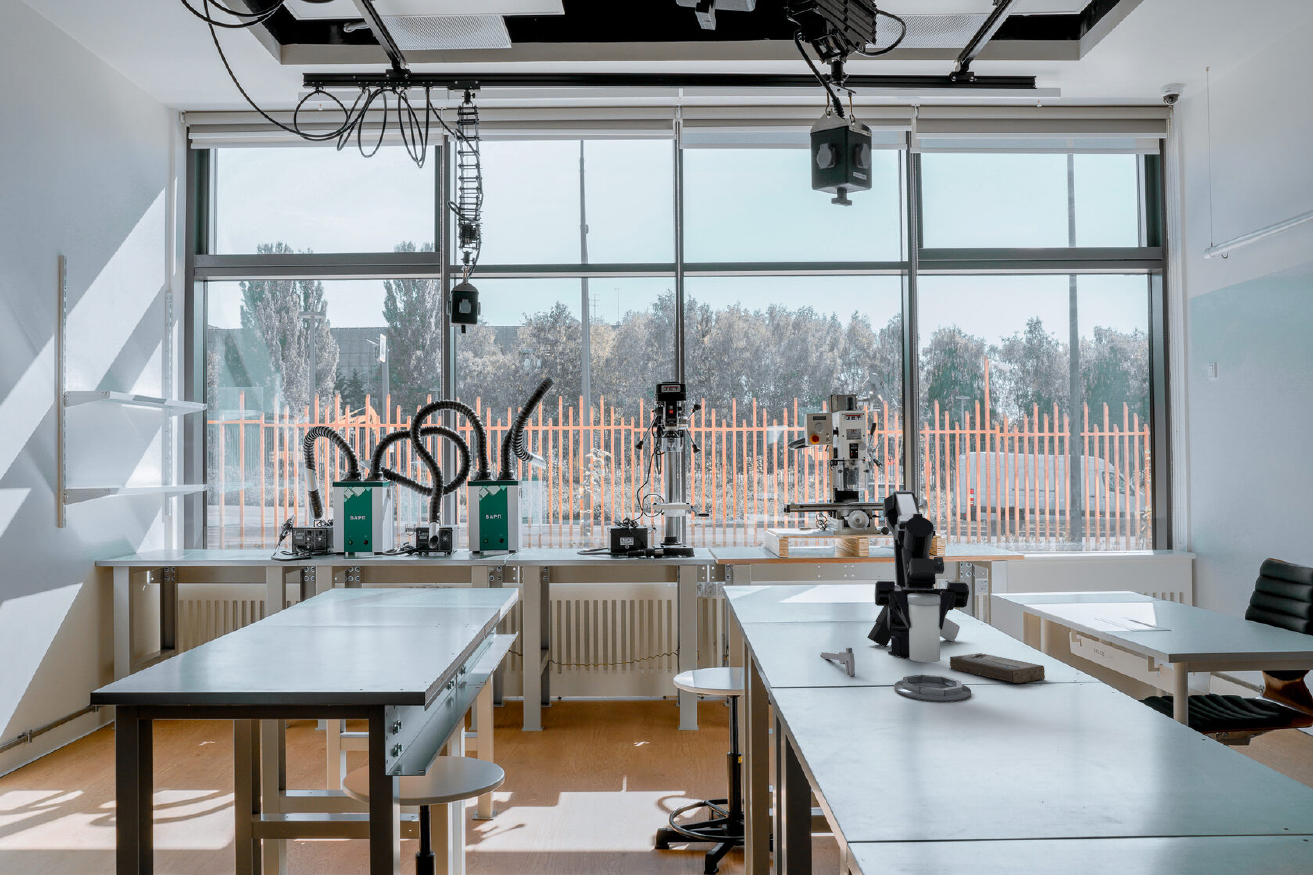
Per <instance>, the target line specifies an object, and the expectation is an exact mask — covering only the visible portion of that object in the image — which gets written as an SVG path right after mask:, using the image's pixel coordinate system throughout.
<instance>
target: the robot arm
mask: <svg viewBox="0 0 1313 875" xmlns="http://www.w3.org/2000/svg"><path fill="white" fill-rule="evenodd" d="M882 515H883V518H885V522H886V523H885V524H886V527H887V529H888V530H889V531H890V532H891V533H892V535H893V536H892V537H893V553H894V556H893V557H894V572H895V573H894V575H895V580H877V581H876V582H875V583H874V584H875V585H874V586H875V587H874V605H876V606H877V607H880V606H881V607H884V606H889V607H888V617H887V625H888V629H889V631H892V636H891V639H890V648H891V649H890V650H889V651H887V654H888V655H892V656H895V657H897V658H898V657H899V658H902V659H910V649H909V629H910V618H909V604H908V594H912V593H929V594H936V595H939V596H940V605H939V616H940V630H942V629H943V624H944V620H945V617H946V616H947V615H948V613H949V611H953V610H954V608H956V609H957V608H966V607H967V605H968V600H969V596H970V589H969V585H968V584H967V583H966V582H965V581H947V585H946V588H935V585H936V584H937V583H936V582H937V578H936V575H937V574H938V575H942V574H944V572H945V562H944V557H943V556H934V557H933V558H931V557H930V550H931V548H932V544H933V539H934V537H937V535H936V534H937V533H936V530H934V529H935V527H934V524H933V522H931V520H930V519H928V518H926V517H925V516H923V513H920V508H919V498H918V497H916V495H915V491H912V490H895V491H893V492H892V494H890V495H889V496H887V497H885V498H884V499H883V504H882ZM946 618H947V617H946ZM892 623H894V625H892Z"/></svg>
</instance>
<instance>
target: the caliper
mask: <svg viewBox="0 0 1313 875" xmlns="http://www.w3.org/2000/svg"><path fill="white" fill-rule="evenodd" d="M854 655H855V654H854V653H853V647H845V651H839V652H837V653H836V652H827V651H826V652H825V651H823V652H821V653H820V655H819V656H820V657H821V658H823V659H825V660H835V661H839V665H844V666H845V671H846V675H847V676H849V677H854V676H856V672H855V671H856V670H855V669H856V666H855V665H856V662H855V656H854Z"/></svg>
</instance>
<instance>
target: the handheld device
mask: <svg viewBox="0 0 1313 875" xmlns="http://www.w3.org/2000/svg"><path fill="white" fill-rule="evenodd" d="M888 607H889V606H882V609H881V610H880V612H879V614H878V615H877V617H876V618H875V621H874V622H875V624H874V625H873V627H872V628H871V630H870V632H869V633H868V636H867V637H866V638H867V639H869V640H870V641H872V642H874V643H876V644H877V645H880V646H882V647H888V644H889V643H890V642H891V636H892V631H889V629H888V625H887V617H888ZM892 625H894V623H892ZM960 628H961V626H960V625H959V624H957V623H955V622H954V621H953V620H950V619H949V618H947V617H945V620H944V624H943V629H942V630H940V638H942V639H944V640H946V641H948V642H952V643H953V642H955V640H956V639H957V637H958V634H959V631H960Z"/></svg>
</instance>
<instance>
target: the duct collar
mask: <svg viewBox="0 0 1313 875" xmlns="http://www.w3.org/2000/svg"><path fill="white" fill-rule="evenodd" d="M893 689H894V690H893V691H894V692H895V693H896V694H897V695H900V696H902V697H905V698H907V699H912V700H916V701H924V702H929V703H930V702H931V703H954V702H955V703H956V702H963V701H965V700H968V699H970V698H971V696H972V689H971V688H970V687H968V686H967V685H965V684H962V680H959V679H955V678H952V677H948V676H945V675H936V674H935V675H934V674H933V675H932V674H914V675H909V676H903V677H902V680H899V681H896V682H895V683H894V684H893Z"/></svg>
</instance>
